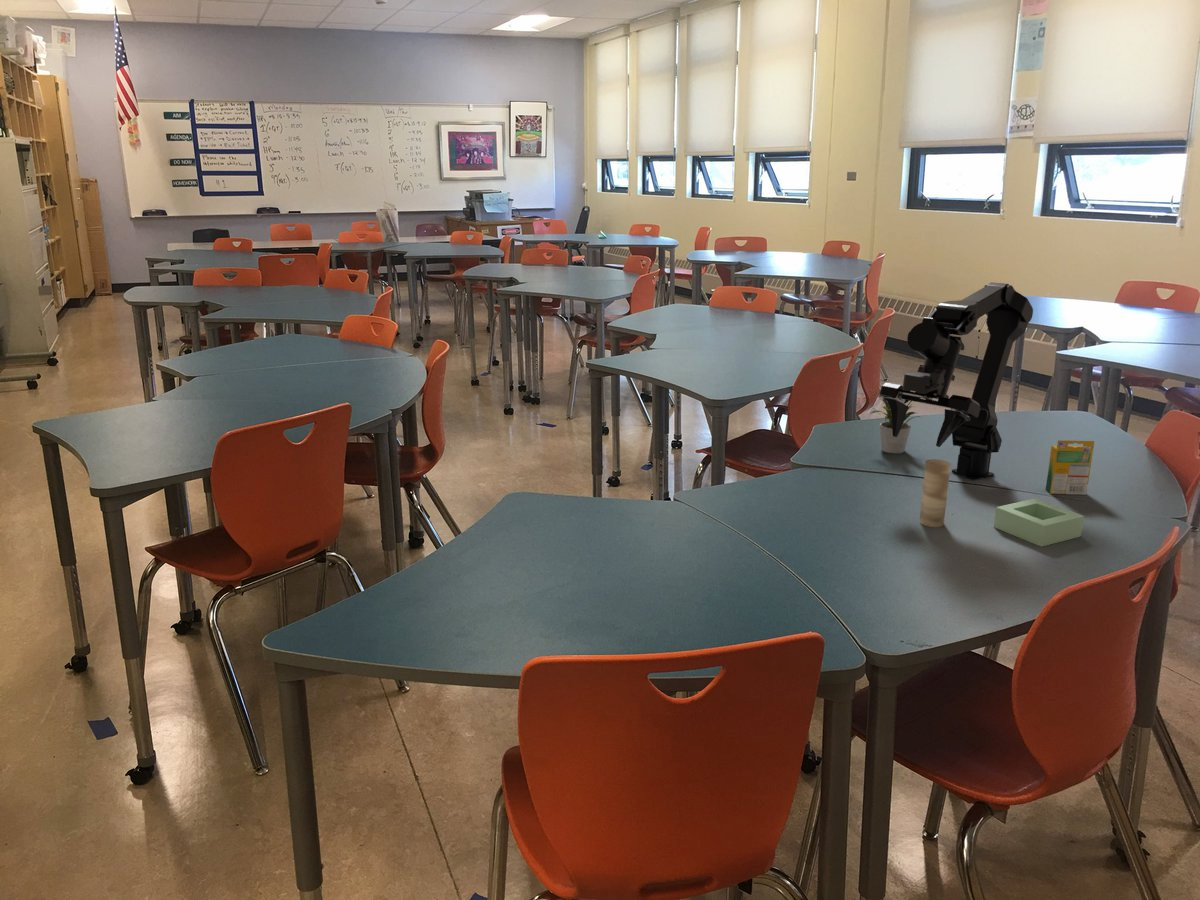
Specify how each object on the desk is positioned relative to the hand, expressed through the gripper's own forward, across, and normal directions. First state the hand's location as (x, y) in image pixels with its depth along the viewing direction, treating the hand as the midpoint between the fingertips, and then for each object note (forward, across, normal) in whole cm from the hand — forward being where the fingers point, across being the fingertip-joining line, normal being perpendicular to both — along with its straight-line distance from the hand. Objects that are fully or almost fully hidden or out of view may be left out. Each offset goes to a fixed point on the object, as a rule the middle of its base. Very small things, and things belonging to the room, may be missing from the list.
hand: (915, 441), depth 178 cm
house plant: (0, -23, +33) cm, 40 cm away
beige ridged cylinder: (+14, +8, 0) cm, 17 cm away
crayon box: (0, +19, +33) cm, 38 cm away
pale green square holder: (+10, +24, +9) cm, 27 cm away
